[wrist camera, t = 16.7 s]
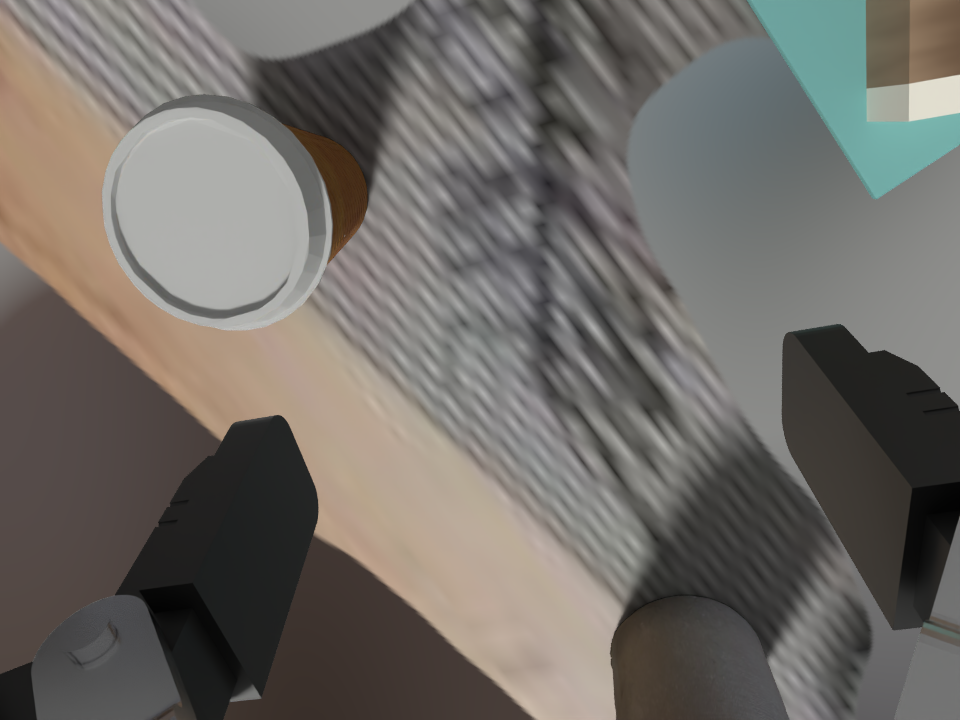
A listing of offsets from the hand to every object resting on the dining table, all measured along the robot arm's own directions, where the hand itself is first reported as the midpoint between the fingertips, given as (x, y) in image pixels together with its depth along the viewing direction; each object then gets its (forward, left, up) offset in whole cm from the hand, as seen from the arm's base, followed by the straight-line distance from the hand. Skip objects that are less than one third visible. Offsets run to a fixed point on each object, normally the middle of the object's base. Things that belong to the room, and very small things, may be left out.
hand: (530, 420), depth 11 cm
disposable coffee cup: (-9, -10, -28) cm, 31 cm away
